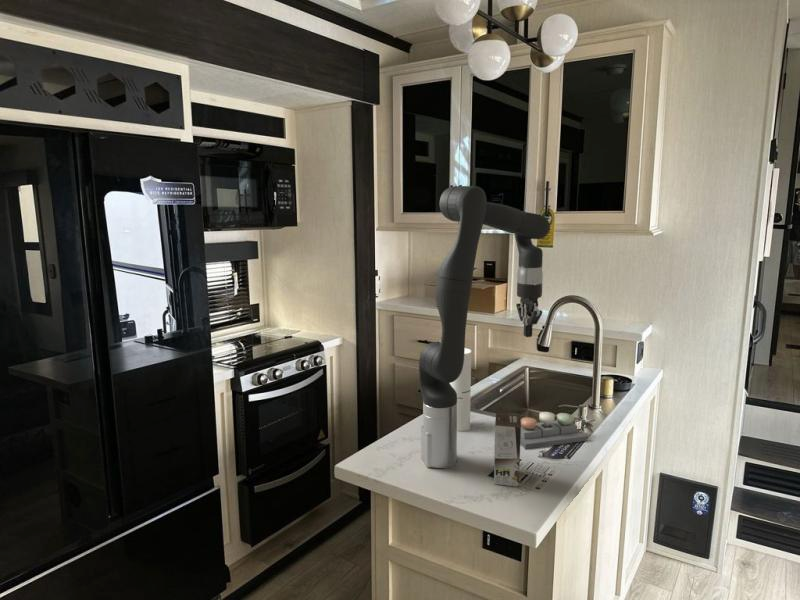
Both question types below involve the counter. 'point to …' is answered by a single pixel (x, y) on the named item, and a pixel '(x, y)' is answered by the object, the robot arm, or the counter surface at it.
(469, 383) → the cylindrical container
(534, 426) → the terracotta button
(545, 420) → the cream button
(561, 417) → the sage button
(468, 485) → the counter surface
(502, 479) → the coffee box
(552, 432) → the console
